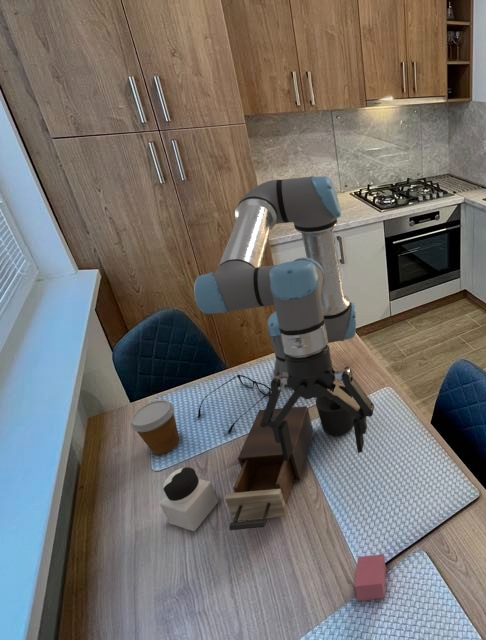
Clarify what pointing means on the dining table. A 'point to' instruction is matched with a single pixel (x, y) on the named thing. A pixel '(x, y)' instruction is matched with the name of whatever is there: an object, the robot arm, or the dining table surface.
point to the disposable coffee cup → (156, 426)
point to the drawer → (260, 492)
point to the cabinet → (265, 446)
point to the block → (370, 577)
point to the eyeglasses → (244, 385)
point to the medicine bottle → (187, 499)
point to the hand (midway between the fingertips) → (324, 451)
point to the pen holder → (334, 416)
